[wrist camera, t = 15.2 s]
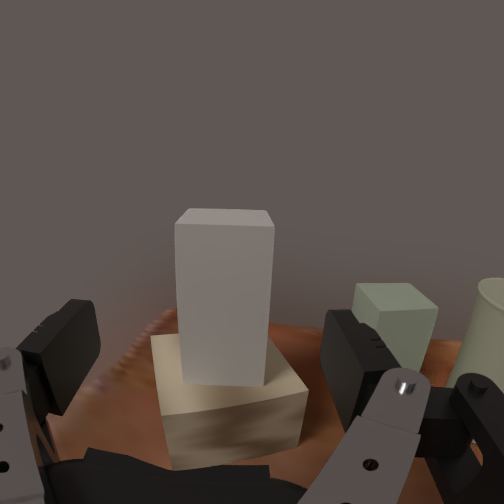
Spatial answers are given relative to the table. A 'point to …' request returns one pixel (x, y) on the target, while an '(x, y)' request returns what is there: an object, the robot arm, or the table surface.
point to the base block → (226, 411)
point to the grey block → (223, 294)
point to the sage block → (397, 318)
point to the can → (483, 336)
